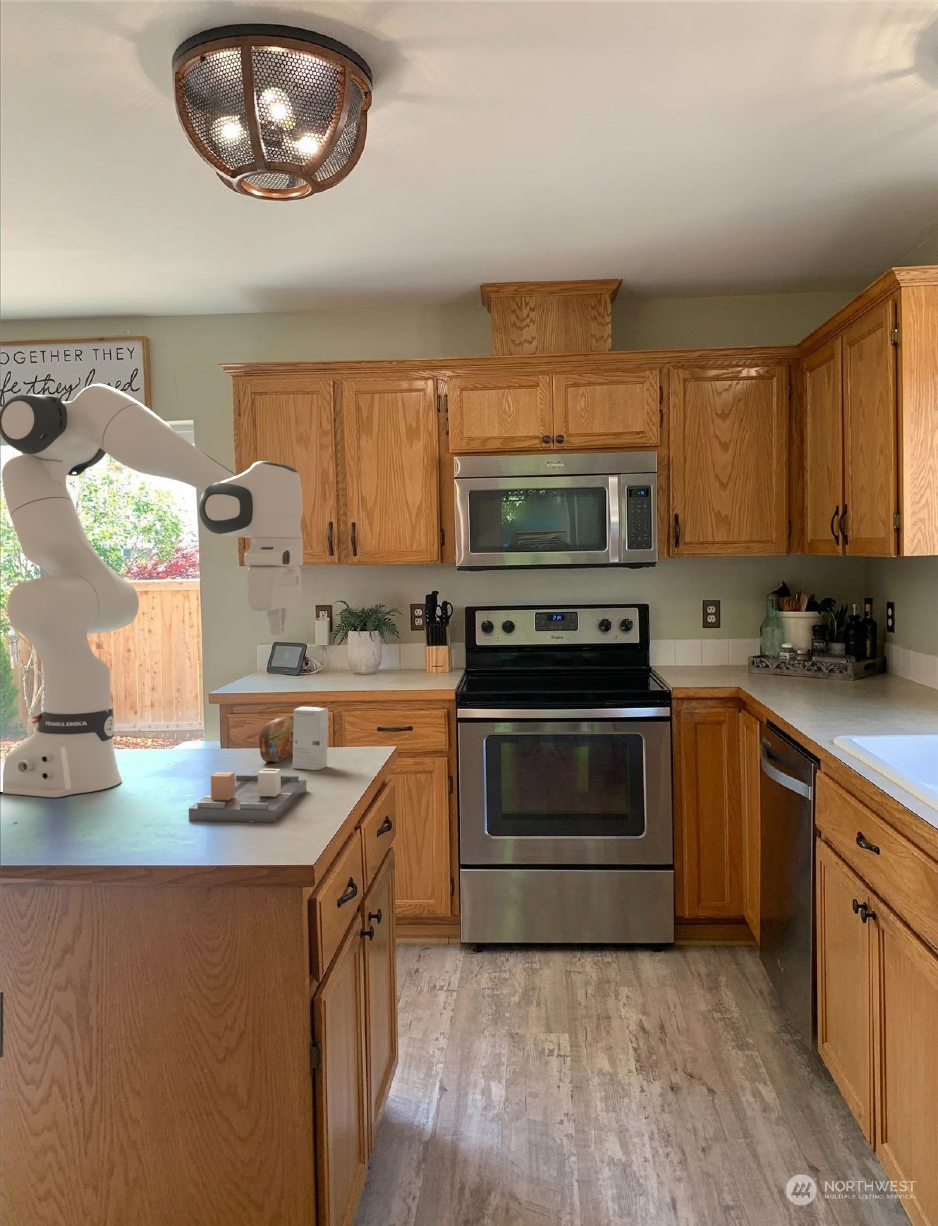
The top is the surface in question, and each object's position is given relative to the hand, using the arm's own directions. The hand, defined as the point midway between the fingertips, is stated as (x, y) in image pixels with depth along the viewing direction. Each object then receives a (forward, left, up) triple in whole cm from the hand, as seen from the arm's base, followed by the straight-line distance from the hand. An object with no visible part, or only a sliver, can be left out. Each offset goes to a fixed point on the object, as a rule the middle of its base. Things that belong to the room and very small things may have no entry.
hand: (277, 634), depth 157 cm
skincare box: (0, +23, -29) cm, 37 cm away
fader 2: (0, -6, -27) cm, 27 cm away
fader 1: (-7, -9, -27) cm, 29 cm away
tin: (-9, +31, -29) cm, 44 cm away
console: (-3, -5, -29) cm, 30 cm away
